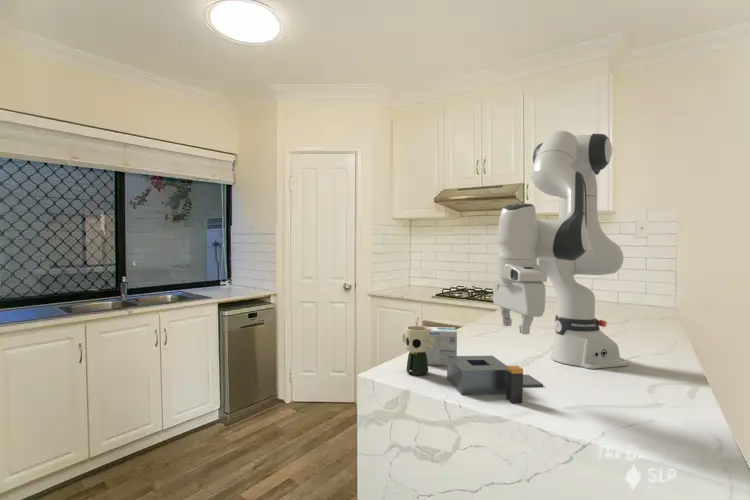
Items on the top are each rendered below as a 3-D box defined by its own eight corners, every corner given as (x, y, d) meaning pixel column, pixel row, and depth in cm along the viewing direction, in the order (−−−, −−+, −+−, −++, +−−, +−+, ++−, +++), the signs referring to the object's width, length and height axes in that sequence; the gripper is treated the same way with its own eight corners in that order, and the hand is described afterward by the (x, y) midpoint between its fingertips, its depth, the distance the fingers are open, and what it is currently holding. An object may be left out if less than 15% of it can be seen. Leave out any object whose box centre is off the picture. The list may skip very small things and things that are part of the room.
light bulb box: (455, 360, 131) (455, 326, 131) (457, 366, 125) (457, 331, 125) (421, 359, 133) (422, 325, 132) (422, 365, 126) (422, 330, 126)
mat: (528, 376, 116) (528, 374, 116) (542, 386, 108) (542, 384, 108) (501, 377, 115) (501, 375, 115) (513, 387, 107) (513, 384, 107)
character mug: (394, 371, 119) (395, 327, 118) (409, 366, 124) (409, 323, 124) (426, 380, 112) (426, 332, 111) (440, 374, 117) (440, 328, 117)
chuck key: (517, 398, 99) (517, 365, 99) (522, 402, 97) (523, 369, 96) (506, 398, 99) (506, 365, 99) (511, 403, 96) (511, 369, 96)
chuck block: (485, 371, 120) (485, 350, 120) (512, 393, 102) (512, 369, 102) (442, 372, 119) (442, 351, 119) (461, 394, 101) (461, 370, 101)
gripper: (487, 268, 107) (486, 321, 107) (523, 274, 87) (521, 339, 87) (510, 269, 108) (509, 321, 108) (551, 274, 88) (550, 339, 88)
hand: (515, 329), depth 97 cm, fingers open, 8 cm apart
